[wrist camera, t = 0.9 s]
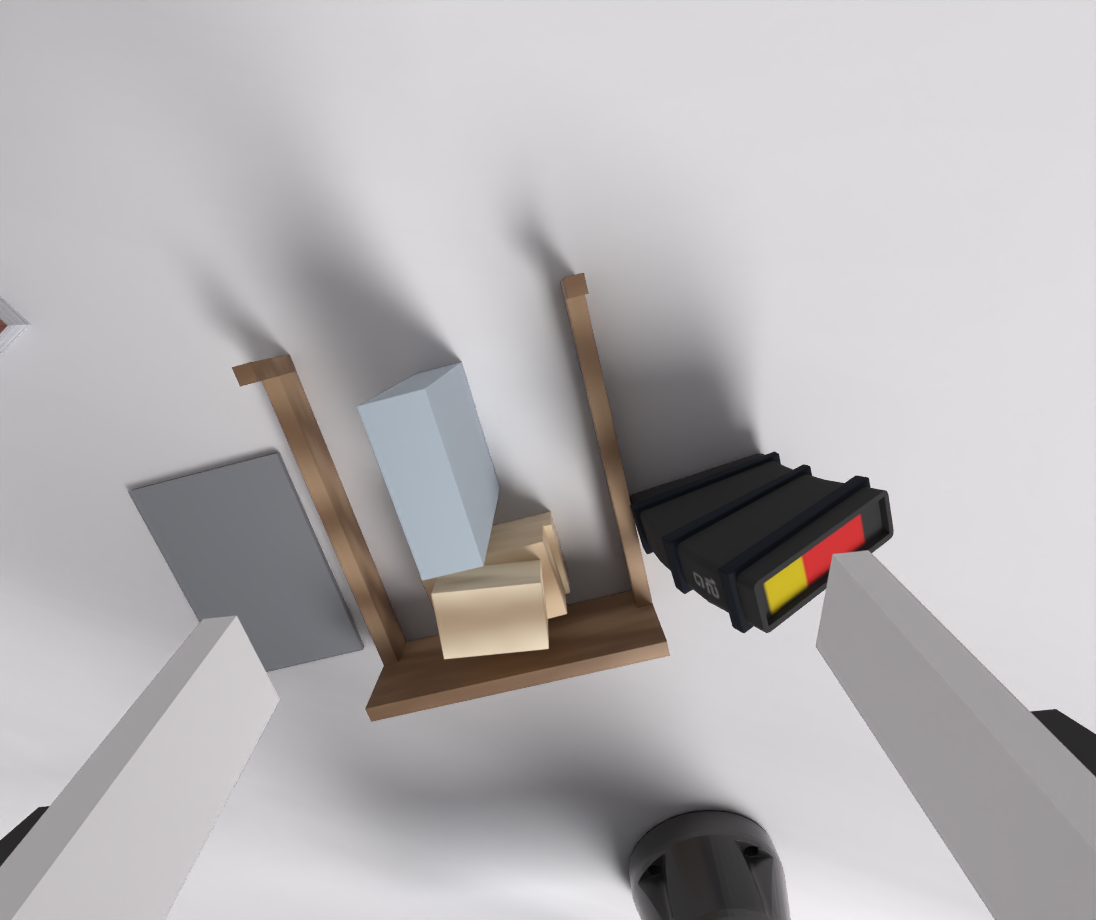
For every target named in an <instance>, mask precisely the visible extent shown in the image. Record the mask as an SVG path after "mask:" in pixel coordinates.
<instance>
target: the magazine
mask: <svg viewBox="0 0 1096 920" xmlns="http://www.w3.org/2000/svg"><path fill="white" fill-rule="evenodd" d="M630 503H631V504H630V508H631V511H632V514H633V517H634V520H635V523H636V526H637V530H638V533H639V536H640V539H641V542H642V545H643V548H644V550H645V552H646V554H650V553H652V552H654V553H655V555H656V556H657V557H658V559H659V560H660V561H661V562H662V563H663V564H664V565H665V566H666V567H667V568H668V569H669V570H670V571H671V572H672V576H673V579H674V582H675V586H676V588H678V589H679V590H680V591H681V592H682V593H684V594H686V593H687V592H689V591H691V590H695V591H696V592H697V593H698V594H700V595H701V596H702V597H703V598H705V599H706V600H707V601H708V602H710V603H712V604H714V605H715V606H717V607H719V608H721V609H723V610H725V611H727V612H728V613H729V615H730V619H731V622H732V626H733V627H734V628H735V629H737V630H739V631H740V632H742V633H745V632H747V631H748V630H749V629H751V628H752V627H753V626H755V627H756V628H758V629H760V630H762V631H764V632H766V633H768V632H771V631H772V630H773V629H775V628H776V627H777V626H778V625H780V624H781V623H782V622H784V621H785V620H786V619H787V618H789V617H790V616H791V615H793V614H794V613H795V612H796V611H798V610H799V609H800V608H802V607H803V606H804V605H806V604H807V603H808V602H809V601H811V600H812V599H813V598H815V597H816V596H817V595H818V594H820V593H821V592H822V591H824V590H825V589H826V587H827V582H828V576H829V571H830V565H831V560H832V555H833V554H838V553H848V552H857V551H867V550H869V551H870V552H871V553H873V552H874V551H875V550H876V549H878V548H879V547H880V546H882V545H883V544H884V543H885V542H887V541H888V540H889V539H891V537H892V536H893V524H892V517H891V510H890V503H889V496H888V493H887V491H885V490H879V489H874V488H870V482H869V478H868V477H862V476H854V477H853V478H851V479H850V480H849V481H847V482H846V483H840V482H834V481H829V480H824V479H820V478H817V477H814V476H812V473H811V468H810V466H808V465H801V466H799V467H798V468H796V469H794V470H793V469H790V468H788V467H785V466H783V465H781V463H780V458H779V454H778V453H776V452H772V453H769V454H767V455H764V454H756V455H753V456H750V457H747V458H744V459H741V460H738V461H735V462H732V463H729V464H725V465H722V466H719V467H716V468H713V469H710V470H707V471H704V472H701V473H698V474H695V475H692V476H689V477H686V478H683V479H679V480H676V481H673V482H670V483H667V484H664V485H661V486H658V487H655V488H652V489H649V490H646V491H643V492H640V493H636V494H633V495H631V496H630Z"/></svg>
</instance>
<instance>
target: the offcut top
mask: <svg viewBox="0 0 1096 920" xmlns="http://www.w3.org/2000/svg"><path fill="white" fill-rule="evenodd" d="M431 595H432V600H433V605H434V610H435V615H436V620H437V625H438V630H439V635H440V640H441V645H442V651H443V656H444V659H452V658H462V657H472V656H482V655H492V654H502V653H512V652H522V651H532V650H543V649H549V639H548V617H547V609H546V601H545V593H544V584H543V576H542V568H541V560H534V561H524V562H514V563H504V564H494V565H484V566H482V567H478V568H473V569H469V570H465V571H461V572H457V573H452V574H448V575H444V576H440V577H437V580H436V583H435V585H434V588H433V591H432V593H431Z"/></svg>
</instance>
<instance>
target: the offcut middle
mask: <svg viewBox="0 0 1096 920" xmlns="http://www.w3.org/2000/svg"><path fill="white" fill-rule="evenodd" d="M534 560H541V568H542V576H543V584H544V593H545V601H546V609H547V617H548V619H549V618H553V617H557V616H561V615H564V614H567V606H566V594H565V589H564V586H563V583H562V580H561V577H560V574H559V571H558V568H557V565H556V562H555V559H554V556H553V553H552V550H551V547H550V544H549V541H548V537H547V534H546V531H545V528H544V525H543V523H541V524H538V525H534V526H531V527H527V528H524V529H520V530H516V531H513V532H509V533H506V534H502V535H499V536H495V537H492V538H489V543H488V548H487V552H486V557H485V562H484V565H494V564H504V563H514V562H524V561H534ZM419 576H420V575H419ZM420 579H421V576H420ZM436 580H437V577H435V578H431V579H427V580H423V581H422V579H421V581H422V583H423V586H424V588H425V590H426V593H427V595H428V597H429V600H430V602H431V604H432V607H433V609H434V605H433V600H432V595H431V593H432V591H433V588H434V585H435V583H436ZM434 611H435V610H434Z"/></svg>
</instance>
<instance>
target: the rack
mask: <svg viewBox="0 0 1096 920" xmlns="http://www.w3.org/2000/svg"><path fill="white" fill-rule="evenodd" d="M561 286H562V290H563V295H564V299H565V303H566V308H567V312H568V316H569V321H570V325H571V329H572V334H573V338H574V342H575V346H576V351H577V355H578V359H579V364H580V368H581V372H582V377H583V381H584V385H585V390H586V394H587V398H588V403H589V407H590V411H591V415H592V420H593V424H594V428H595V433H596V437H597V441H598V446H599V450H600V454H601V459H602V463H603V467H604V472H605V476H606V480H607V484H608V489H609V493H610V497H611V502H612V506H613V510H614V515H615V519H616V523H617V528H618V532H619V536H620V541H621V545H622V549H623V553H624V558H625V562H626V566H627V571H628V575H629V579H630V584H631V588H632V590H631V591H627V592H623V593H618V594H614V595H610V596H605V597H601V598H597V599H592V600H588V601H583V602H579V603H575V604H570V605H566V606H567V614H564V615H561V616H557V617H553V618H549V619H548V639H549V649H543V650H532V651H522V652H512V653H502V654H492V655H482V656H472V657H462V658H452V659H444V656H443V651H442V645H441V640H440V635H435V636H431V637H427V638H422V639H418V640H414V641H409V642H406V641H405V638H404V636H403V633H402V631H401V629H400V626H399V624H398V621H397V619H396V616H395V614H394V611H393V609H392V606H391V604H390V601H389V599H388V596H387V594H386V592H385V589H384V587H383V584H382V582H381V579H380V577H379V574H378V572H377V569H376V567H375V564H374V562H373V560H372V557H371V555H370V552H369V550H368V547H367V545H366V542H365V540H364V537H363V535H362V532H361V530H360V527H359V525H358V523H357V520H356V518H355V515H354V513H353V510H352V508H351V505H350V503H349V500H348V498H347V495H346V493H345V490H344V488H343V486H342V483H341V481H340V478H339V476H338V473H337V471H336V468H335V466H334V463H333V461H332V458H331V456H330V454H329V451H328V449H327V446H326V444H325V441H324V439H323V436H322V434H321V431H320V429H319V426H318V424H317V421H316V419H315V417H314V414H313V412H312V409H311V407H310V404H309V402H308V399H307V397H306V394H305V392H304V389H303V387H302V384H301V382H300V380H299V377H298V375H297V372H296V370H295V367H294V365H293V362H292V360H291V357H290V355H286V356H280V357H275V358H270V359H265V360H260V361H255V362H250V363H246V364H243V365H239V366H235V367H232V369H233V371H234V374H235V376H236V378H237V380H238V383H239V385H240V386H243V385H247V384H251V383H255V382H258V381H262V382H263V385H264V387H265V389H266V392H267V394H268V396H269V399H270V401H271V403H272V406H273V408H274V410H275V413H276V415H277V417H278V420H279V422H280V424H281V427H282V429H283V431H284V434H285V436H286V438H287V441H288V443H289V445H290V448H291V450H292V452H293V455H294V457H295V459H296V462H297V464H298V466H299V469H300V471H301V473H302V476H303V478H304V480H305V483H306V485H307V487H308V490H309V492H310V494H311V497H312V499H313V501H314V503H315V506H316V508H317V510H318V513H319V515H320V517H321V520H322V522H323V524H324V527H325V529H326V531H327V534H328V536H329V538H330V541H331V543H332V545H333V548H334V550H335V552H336V555H337V557H338V559H339V562H340V564H341V566H342V569H343V571H344V573H345V576H346V578H347V580H348V583H349V585H350V587H351V590H352V592H353V594H354V597H355V599H356V601H357V604H358V606H359V608H360V611H361V613H362V615H363V618H364V620H365V622H366V625H367V627H368V629H369V632H370V634H371V636H372V639H373V641H374V643H375V646H376V648H377V650H378V653H379V655H380V657H381V660H382V662H383V664H384V667H383V669H382V671H381V674H380V676H379V678H378V681H377V683H376V685H375V688H374V690H373V692H372V695H371V697H370V699H369V702H368V704H367V706H366V711H367V713H368V716H369V718H370V720H371V721H376V720H381V719H385V718H390V717H394V716H399V715H403V714H408V713H412V712H417V711H421V710H426V709H430V708H435V707H439V706H444V705H448V704H453V703H458V702H462V701H467V700H471V699H476V698H480V697H485V696H489V695H494V694H498V693H503V692H507V691H512V690H516V689H521V688H526V687H530V686H535V685H539V684H544V683H548V682H553V681H557V680H562V679H566V678H571V677H575V676H580V675H584V674H589V673H593V672H598V671H603V670H607V669H612V668H616V667H621V666H625V665H630V664H634V663H639V662H643V661H648V660H652V659H657V658H661V657H666V656H670V654H669V649H668V645H667V641H666V638H665V635H664V633H663V630H662V628H661V625H660V622H659V620H658V617H657V614H656V612H655V609H654V606H653V603H652V599H651V594H650V590H649V585H648V581H647V576H646V571H645V567H644V562H643V558H642V553H641V549H640V544H639V540H638V535H637V530H636V526H635V521H634V517H633V514H632V511H631V508H630V504H631V503H630V499H629V494H628V489H627V485H626V480H625V476H624V471H623V467H622V462H621V458H620V453H619V448H618V444H617V439H616V435H615V430H614V426H613V421H612V417H611V412H610V407H609V403H608V398H607V394H606V389H605V385H604V380H603V376H602V371H601V366H600V362H599V357H598V353H597V348H596V344H595V339H594V335H593V330H592V325H591V321H590V316H589V312H588V307H587V303H586V298H585V294H588V289H587V285H586V280H585V276H584V273H581V274H577V275H573V276H570V277H566V278H564V279H563V280H562V281H561Z"/></svg>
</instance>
